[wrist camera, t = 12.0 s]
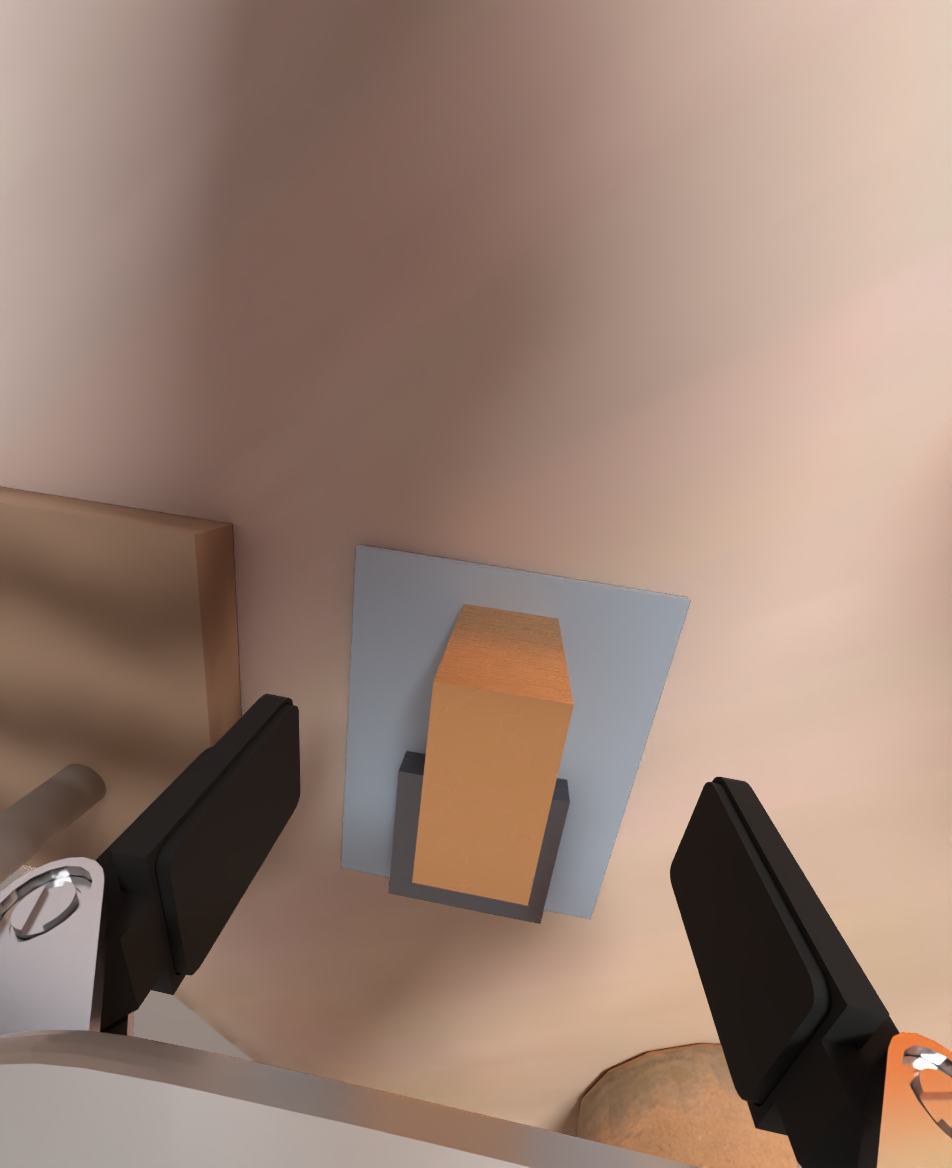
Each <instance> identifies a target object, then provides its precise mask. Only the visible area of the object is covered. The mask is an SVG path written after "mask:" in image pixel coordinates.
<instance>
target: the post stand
mask: <svg viewBox="0 0 952 1168" xmlns="http://www.w3.org/2000/svg"><path fill="white" fill-rule="evenodd" d="M240 718H241V697H240V676H239V654H238V633H237V612H236V590H235V569H234V548H233V526H232V524H229V523H223V522H217V521H211V520H204V519H198V518H192V517H186V516H180V515H173V514H167V513H161V512H155V511H148V510H142V509H136V508H130V507H124V506H117V505H111V504H105V503H99V502H93V501H86V500H80V499H74V498H68V497H61V496H55V495H49V494H43V493H37V492H30V491H24V490H18V489H12V488H6V487H0V883H2V882H3V881H4V880H5V879H6V878H8V877H9V876H10V875H11V874H13V873H14V872H15V871H16V870H17V869H19V868H20V867H21V866H22V865H27V866H32V867H36V868H38V867H41V866H43V865H45V864H48V863H50V862H53V861H57V860H61V859H66V858H74V857H85V858H88V859H91V860H94V861H95V860H96V859H97V858H98V857H99V856H100V855H101V854H102V853H103V852H104V851H105V850H106V849H107V848H108V847H109V846H110V845H111V844H112V843H113V842H114V841H115V840H116V839H117V838H118V837H119V836H120V835H121V834H122V833H123V832H124V831H125V830H126V829H127V828H128V827H129V826H130V825H131V824H132V823H133V822H134V821H135V820H136V819H137V818H138V817H139V816H140V815H141V814H142V813H143V812H144V811H145V810H146V809H147V807H148V806H149V805H150V804H151V803H152V802H153V801H154V800H155V799H156V798H157V797H158V796H159V795H160V794H161V793H162V792H163V791H164V790H165V789H166V788H167V787H168V786H169V785H170V784H171V783H172V782H173V781H174V780H175V779H176V778H177V777H178V776H179V775H180V774H181V773H182V772H183V771H184V770H185V769H186V768H187V767H188V766H189V765H190V764H191V763H192V762H193V761H194V760H195V759H196V758H197V757H198V756H199V755H200V754H201V753H202V752H203V751H205V750H206V749H207V748H209V747H212V746H214V745H215V744H216V743H217V742H218V741H219V740H220V739H221V738H222V737H223V736H224V735H225V734H226V732H227V731H228V730H229V729H230V728H231V727H232V726H233V725H234V724H235V723H236V722H237V721H238V720H239V719H240Z"/></svg>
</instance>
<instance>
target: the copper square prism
mask: <svg viewBox="0 0 952 1168" xmlns="http://www.w3.org/2000/svg"><path fill="white" fill-rule="evenodd" d="M573 705H574V703H573V698H572V692H571V687H570V681H569V675H568V670H567V664H566V658H565V653H564V647H563V642H562V636H561V630H560V625H559V619H558V618H552V617H546V616H539V615H533V614H527V613H520V612H514V611H507V610H501V609H495V608H488V607H482V606H475V605H469V604H463V607H462V609H461V612H460V614H459V617H458V619H457V622H456V625H455V627H454V630H453V632H452V635H451V637H450V640H449V642H448V645H447V648H446V650H445V653H444V655H443V658H442V660H441V663H440V665H439V668H438V671H437V673H436V676H435V678H434V681H433V690H432V700H431V709H430V719H429V728H428V738H427V747H426V754H422V753H416V752H411V751H406V753H405V756H404V758H403V761H402V763H401V766H400V769H399V772H398V784H397V796H396V808H395V821H394V833H393V845H392V857H391V869H390V882H389V893H391V894H396V895H401V896H406V897H411V898H416V899H421V900H425V901H430V902H435V903H440V904H445V905H450V906H455V907H460V908H465V909H470V910H475V911H480V912H484V913H489V914H494V915H499V916H504V917H509V918H514V919H519V920H524V921H529V922H534V923H539V924H540V922H541V918H542V914H543V910H544V906H545V902H546V898H547V894H548V890H549V886H550V882H551V878H552V874H553V870H554V865H555V861H556V857H557V853H558V849H559V845H560V841H561V837H562V833H563V829H564V825H565V821H566V817H567V813H568V809H569V804H570V798H569V790H568V782H567V780H566V779H560V778H557V775H558V771H559V767H560V762H561V758H562V754H563V749H564V745H565V740H566V736H567V732H568V727H569V723H570V719H571V714H572V710H573Z"/></svg>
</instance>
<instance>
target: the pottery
mask: <svg viewBox="0 0 952 1168" xmlns="http://www.w3.org/2000/svg"><path fill="white" fill-rule="evenodd" d="M576 1135H577V1137H578V1138H582V1139H587V1140H591V1141H595V1142H599V1143H603V1144H607V1145H611V1146H615V1147H620V1148H624V1149H628V1150H632V1151H636V1152H640V1153H644V1154H648V1155H653V1156H657V1157H661V1158H665V1159H669V1160H673V1161H677V1162H681V1163H686V1164H690V1165H694V1166H698V1167H702V1168H797V1163H798V1162H797V1160H796V1157H795V1155H794V1152H793V1149H792V1146H791V1144H790V1141H789V1138H788V1136H787V1135H782V1134H778V1133H773V1132H769V1131H765V1130H760V1129H756V1128H755V1125H754V1122H753V1119H752V1116H751V1113H750V1110H749V1107H748V1104H747V1101H744V1100H742V1099H741V1098H740V1096H739V1095H738V1093H737V1091H736V1089H735V1087H734V1084H733V1081H732V1078H731V1075H730V1072H729V1069H728V1065H727V1062H726V1059H725V1056H724V1052H723V1049H722V1046H721V1044H711V1043H699V1044H692V1045H686V1046H680V1047H674V1048H668V1049H661V1050H655V1051H649V1052H647V1053H645V1054H643V1055H640V1056H638V1057H636V1058H634V1059H632V1060H629V1061H627V1062H625V1063H623V1064H621V1065H618V1066H616V1067H614V1068H612V1069H610V1070H608V1072H607V1073H606V1074H605V1075H604V1076H603V1077H602V1078H601V1079H600V1080H599V1081H598V1082H597V1083H596V1084H595V1085H594V1086H593V1087H592V1088H591V1089H590V1091H589V1092H588V1093H587V1094H586V1095H585V1096H584V1097H583V1099H582V1101H581V1106H580V1111H579V1116H578V1121H577V1126H576Z"/></svg>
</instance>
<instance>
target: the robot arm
mask: <svg viewBox="0 0 952 1168" xmlns="http://www.w3.org/2000/svg"><path fill="white" fill-rule="evenodd" d="M299 797H300V749H299V710H298V707H297V706H294V705H293V702H292V700H291V699H290V698H287V697H281V696H276V695H270V694H265V695H263V696H262V697H261V698H260V699H259V700H258V701H257V702H256V703H255V704H254V705H253V706H252V707H251V708H250V709H249V710H248V711H247V712H246V713H245V714H244V715H243V716H242V717H241V718H240V719H239V720H238V721H237V722H236V723H235V724H234V725H233V726H232V727H231V728H230V729H229V730H228V731H227V732H226V734H225V735H224V736H223V737H222V738H221V739H220V740H219V741H218V742H217V743H216V744H215V745H214V746H212V747H209V748H207V749H206V750H205V751H203V752H202V753H201V754H200V755H199V756H198V757H197V758H196V759H195V760H194V761H193V762H192V763H191V764H190V765H189V766H188V767H187V768H186V769H185V770H184V771H183V772H182V773H181V774H180V775H179V776H178V777H177V778H176V779H175V780H174V781H173V782H172V783H171V784H170V785H169V786H168V787H167V788H166V789H165V790H164V791H163V792H162V793H161V794H160V795H159V796H158V797H157V798H156V799H155V800H154V801H153V802H152V803H151V804H150V805H149V806H148V807H147V809H146V810H145V811H144V812H143V813H142V814H141V815H140V816H139V817H138V818H137V819H136V820H135V821H134V822H133V823H132V824H131V825H130V826H129V827H128V828H127V829H126V830H125V831H124V832H123V833H122V834H121V835H120V836H119V837H118V838H117V839H116V840H115V841H114V842H113V843H112V844H111V845H110V846H109V847H108V848H107V849H106V850H105V851H104V852H103V853H102V854H101V855H100V856H99V857H98V858H97V859H96V860H95V861H94V860H91V859H88V858H85V857H74V858H66V859H61V860H57V861H53V862H50V863H48V864H45V865H43V866H41V867H38V868H36V869H34V870H32V871H30V872H28V873H27V874H25V875H23V876H22V877H20V878H18V879H17V880H15V881H13V882H12V883H11V884H10V885H9V886H7V887H6V888H5V889H4V890H2V891H1V892H0V1168H702V1167H698V1166H694V1165H690V1164H686V1163H681V1162H677V1161H673V1160H669V1159H665V1158H661V1157H657V1156H653V1155H648V1154H644V1153H640V1152H636V1151H632V1150H628V1149H624V1148H620V1147H615V1146H611V1145H607V1144H603V1143H599V1142H595V1141H591V1140H587V1139H582V1138H578V1137H574V1136H570V1135H566V1134H562V1133H557V1132H553V1131H549V1130H545V1129H541V1128H536V1127H532V1126H528V1125H524V1124H519V1123H515V1122H511V1121H507V1120H503V1119H498V1118H494V1117H490V1116H486V1115H481V1114H477V1113H473V1112H469V1111H464V1110H460V1109H456V1108H452V1107H447V1106H443V1105H439V1104H435V1103H430V1102H426V1101H422V1100H418V1099H413V1098H409V1097H405V1096H401V1095H396V1094H392V1093H388V1092H384V1091H379V1090H375V1089H371V1088H366V1087H362V1086H358V1085H353V1084H349V1083H345V1082H340V1081H336V1080H331V1079H327V1078H323V1077H318V1076H314V1075H310V1074H305V1073H301V1072H297V1071H292V1070H288V1069H283V1068H279V1067H275V1066H270V1065H266V1064H262V1063H257V1062H253V1061H248V1060H244V1059H240V1058H235V1057H231V1056H226V1055H222V1054H216V1053H211V1052H207V1051H202V1050H197V1049H192V1048H187V1047H182V1046H177V1045H173V1044H167V1043H163V1042H158V1041H153V1040H148V1039H143V1038H138V1037H133V1028H134V1011H135V1010H137V1009H138V1008H139V1007H140V1005H141V1004H142V1002H143V1001H144V999H145V998H146V996H147V995H148V993H149V992H150V990H154V991H158V992H162V993H167V994H171V995H174V993H175V992H176V990H177V988H178V987H179V985H180V984H181V982H182V980H183V979H184V977H185V975H193V974H194V973H195V972H196V971H197V970H198V969H199V967H200V966H201V964H202V963H203V961H204V959H205V958H206V956H207V954H208V953H209V951H210V949H211V948H212V946H213V944H214V943H215V941H216V939H217V938H218V936H219V935H220V933H221V931H222V930H223V928H224V926H225V925H226V923H227V921H228V920H229V918H230V916H231V915H232V913H233V911H234V910H235V908H236V906H237V905H238V903H239V901H240V900H241V898H242V896H243V895H244V893H245V891H246V890H247V888H248V886H249V885H250V883H251V881H252V880H253V878H254V876H255V875H256V873H257V872H258V870H259V868H260V867H261V865H262V863H263V862H264V860H265V858H266V857H267V855H268V853H269V852H270V850H271V848H272V847H273V845H274V843H275V842H276V840H277V838H278V837H279V835H280V833H281V832H282V830H283V828H284V827H285V825H286V823H287V822H288V820H289V818H290V817H291V815H292V814H293V812H294V810H295V808H296V806H297V804H298V801H299ZM670 878H671V884H672V887H673V891H674V894H675V897H676V900H677V904H678V907H679V910H680V913H681V917H682V920H683V923H684V926H685V930H686V933H687V936H688V939H689V942H690V946H691V949H692V952H693V955H694V959H695V962H696V965H697V968H698V972H699V975H700V978H701V981H702V984H703V988H704V991H705V994H706V997H707V1001H708V1004H709V1007H710V1010H711V1014H712V1017H713V1020H714V1023H715V1027H716V1030H717V1033H718V1036H719V1039H720V1043H721V1046H722V1049H723V1052H724V1056H725V1059H726V1062H727V1065H728V1069H729V1072H730V1075H731V1078H732V1081H733V1084H734V1087H735V1089H736V1091H737V1093H738V1095H739V1096H740V1098H741V1099H742V1100H744V1101H747V1104H748V1107H749V1110H750V1113H751V1116H752V1119H753V1122H754V1125H755V1128H756V1129H760V1130H765V1131H769V1132H773V1133H778V1134H782V1135H787V1136H788V1138H789V1141H790V1144H791V1146H792V1149H793V1152H794V1155H795V1157H796V1160H797V1162H798V1163H797V1168H952V1052H951V1051H949V1050H948V1049H946V1048H945V1047H943V1046H942V1045H940V1044H938V1043H937V1042H935V1041H933V1040H931V1039H928V1038H926V1037H924V1036H921V1035H919V1034H915V1033H906V1032H902V1033H899V1031H898V1030H897V1028H896V1026H895V1025H894V1023H893V1021H892V1020H891V1018H890V1016H889V1013H888V1011H887V1009H886V1008H885V1006H884V1005H883V1003H882V1001H881V1000H880V998H879V996H878V995H877V993H876V991H875V990H874V988H873V986H872V985H871V983H870V982H869V980H868V978H867V977H866V975H865V973H864V972H863V970H862V968H861V967H860V965H859V963H858V962H857V960H856V959H855V957H854V955H853V954H852V952H851V950H850V949H849V947H848V945H847V944H846V942H845V941H844V939H843V937H842V936H841V934H840V932H839V931H838V929H837V927H836V926H835V924H834V922H833V921H832V919H831V918H830V916H829V914H828V913H827V911H826V909H825V908H824V906H823V904H822V903H821V901H820V899H819V898H818V896H817V895H816V893H815V891H814V890H813V888H812V886H811V885H810V883H809V881H808V880H807V878H806V877H805V875H804V873H803V872H802V870H801V868H800V867H799V865H798V863H797V862H796V860H795V858H794V857H793V855H792V854H791V852H790V850H789V849H788V847H787V845H786V844H785V842H784V840H783V839H782V837H781V835H780V834H779V832H778V831H777V829H776V827H775V826H774V824H773V822H772V821H771V819H770V817H769V816H768V814H767V813H766V811H765V809H764V808H763V806H762V804H761V803H760V801H759V799H758V798H757V796H756V794H755V793H754V791H753V790H752V788H751V787H750V785H749V784H748V783H746V782H745V781H740V780H734V779H729V778H723V777H716V778H714V780H713V781H712V782H707V783H706V784H705V785H704V787H703V790H702V792H701V795H700V797H699V799H698V802H697V804H696V807H695V809H694V811H693V814H692V816H691V819H690V821H689V823H688V826H687V828H686V831H685V833H684V835H683V838H682V840H681V843H680V845H679V847H678V850H677V852H676V855H675V857H674V859H673V862H672V864H671V869H670Z"/></svg>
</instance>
